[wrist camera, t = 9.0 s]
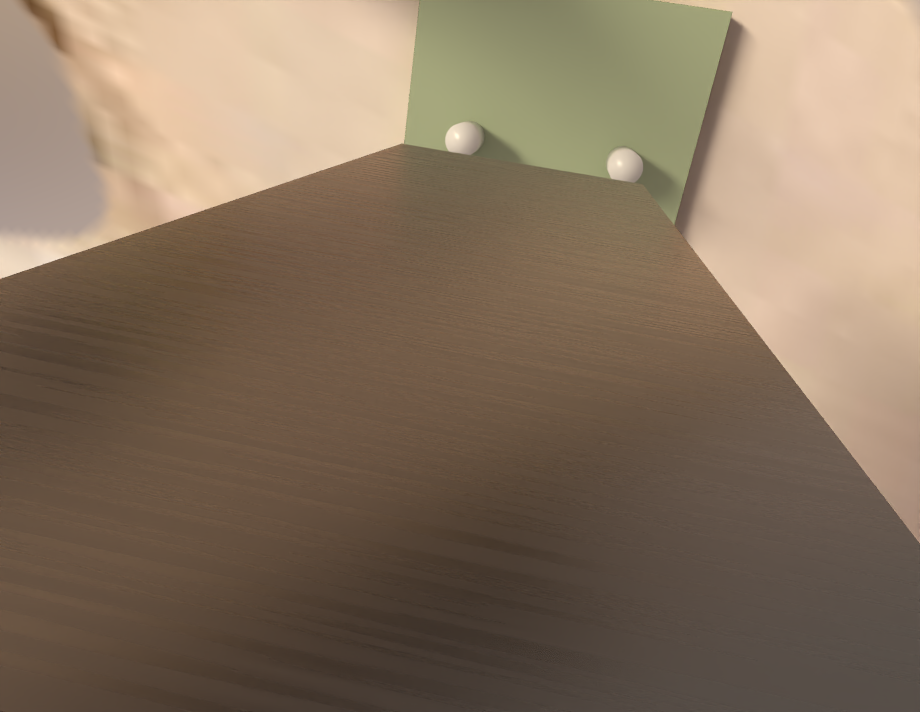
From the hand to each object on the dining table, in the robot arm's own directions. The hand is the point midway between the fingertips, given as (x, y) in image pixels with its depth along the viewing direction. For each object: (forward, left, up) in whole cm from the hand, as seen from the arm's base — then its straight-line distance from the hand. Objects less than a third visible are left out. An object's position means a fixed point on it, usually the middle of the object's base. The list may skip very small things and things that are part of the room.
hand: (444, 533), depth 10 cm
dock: (0, 0, -25) cm, 25 cm away
